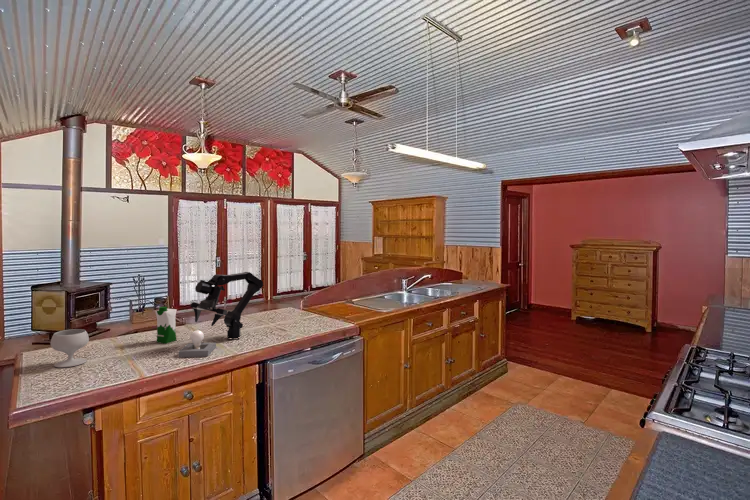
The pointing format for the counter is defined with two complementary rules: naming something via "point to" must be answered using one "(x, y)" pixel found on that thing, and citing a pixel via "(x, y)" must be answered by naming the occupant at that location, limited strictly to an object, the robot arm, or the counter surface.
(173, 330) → the milk carton
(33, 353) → the counter surface
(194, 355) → the holder
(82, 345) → the chalice
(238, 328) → the robot arm
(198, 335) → the lightbulb
